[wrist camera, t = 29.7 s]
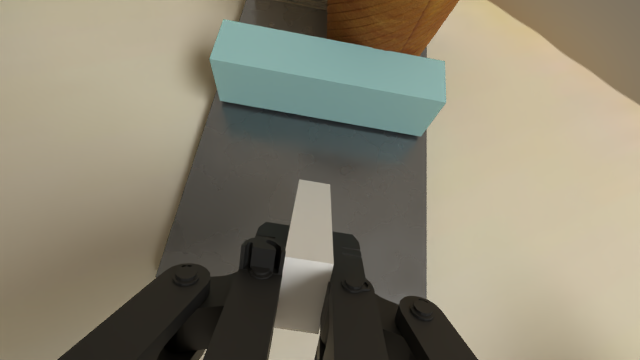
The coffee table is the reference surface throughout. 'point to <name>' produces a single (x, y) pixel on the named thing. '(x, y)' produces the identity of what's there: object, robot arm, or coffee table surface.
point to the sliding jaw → (327, 78)
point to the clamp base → (303, 178)
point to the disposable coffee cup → (387, 23)
